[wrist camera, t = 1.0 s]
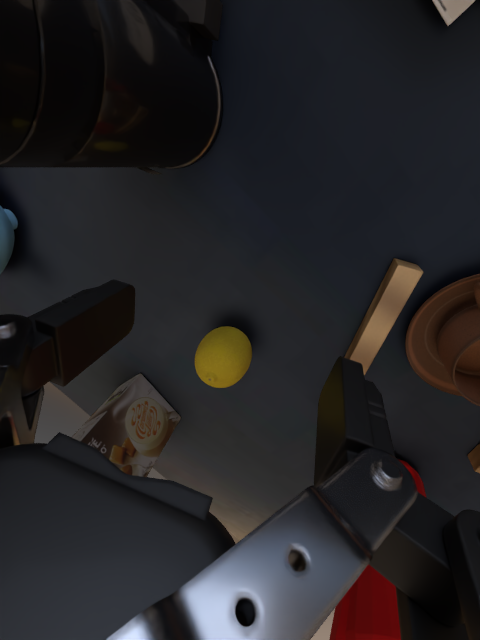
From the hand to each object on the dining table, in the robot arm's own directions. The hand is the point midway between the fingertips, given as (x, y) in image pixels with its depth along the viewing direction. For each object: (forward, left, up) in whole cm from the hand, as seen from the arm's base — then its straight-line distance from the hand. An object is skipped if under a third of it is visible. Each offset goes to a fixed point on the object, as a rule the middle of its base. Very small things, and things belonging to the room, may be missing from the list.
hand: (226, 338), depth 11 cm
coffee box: (+28, -13, -19) cm, 36 cm away
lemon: (+12, -3, -19) cm, 22 cm away
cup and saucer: (+3, +18, -19) cm, 26 cm away
